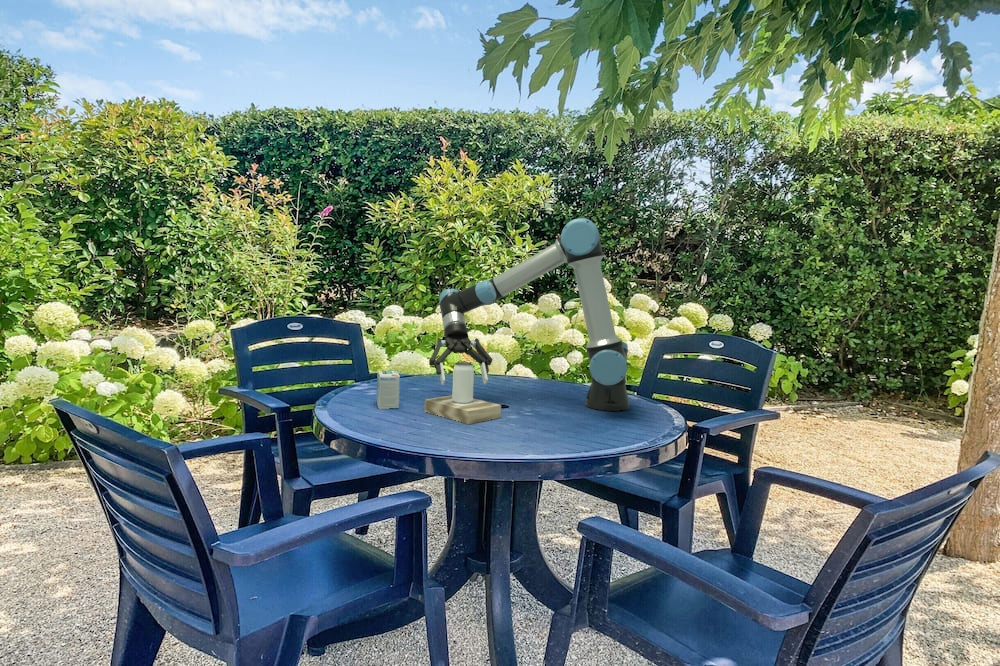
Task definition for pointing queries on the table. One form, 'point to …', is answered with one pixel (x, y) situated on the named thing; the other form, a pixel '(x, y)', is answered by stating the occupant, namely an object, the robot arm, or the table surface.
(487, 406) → the block
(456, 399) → the can
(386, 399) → the light bulb box
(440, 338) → the robot arm
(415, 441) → the table surface
